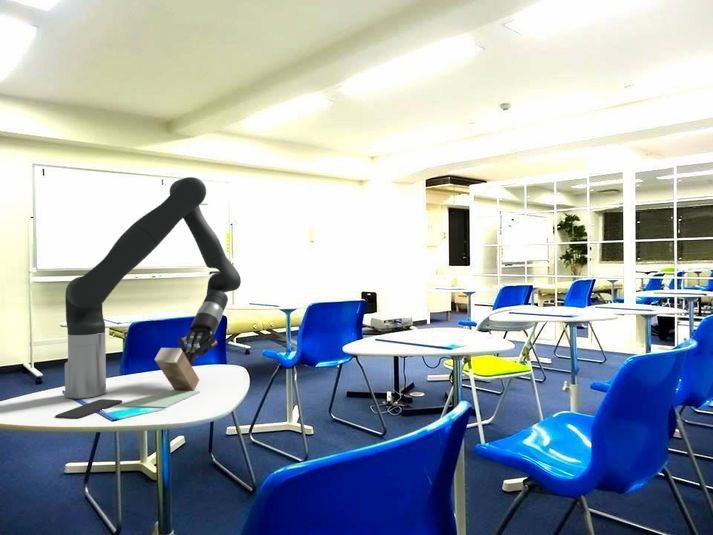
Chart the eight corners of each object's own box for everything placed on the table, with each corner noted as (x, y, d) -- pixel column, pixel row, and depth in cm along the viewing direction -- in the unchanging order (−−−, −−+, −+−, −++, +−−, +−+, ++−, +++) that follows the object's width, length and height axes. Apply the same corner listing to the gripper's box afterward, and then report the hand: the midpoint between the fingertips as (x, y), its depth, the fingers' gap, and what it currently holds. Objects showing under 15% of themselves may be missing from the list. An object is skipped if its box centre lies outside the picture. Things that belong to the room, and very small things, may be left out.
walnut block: (175, 390, 138) (154, 359, 130) (180, 379, 141) (161, 347, 133) (193, 391, 137) (174, 359, 128) (199, 379, 140) (180, 348, 131)
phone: (52, 415, 114) (100, 398, 128) (52, 419, 114) (100, 402, 128) (78, 417, 112) (124, 400, 127) (78, 421, 112) (124, 403, 127)
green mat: (127, 406, 122) (127, 405, 122) (165, 391, 138) (165, 389, 138) (165, 408, 120) (165, 406, 120) (199, 392, 136) (199, 391, 136)
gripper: (183, 311, 150) (160, 357, 138) (222, 311, 147) (202, 358, 135) (193, 326, 155) (171, 372, 143) (231, 327, 152) (211, 374, 140)
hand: (186, 365), depth 139 cm, fingers closed
